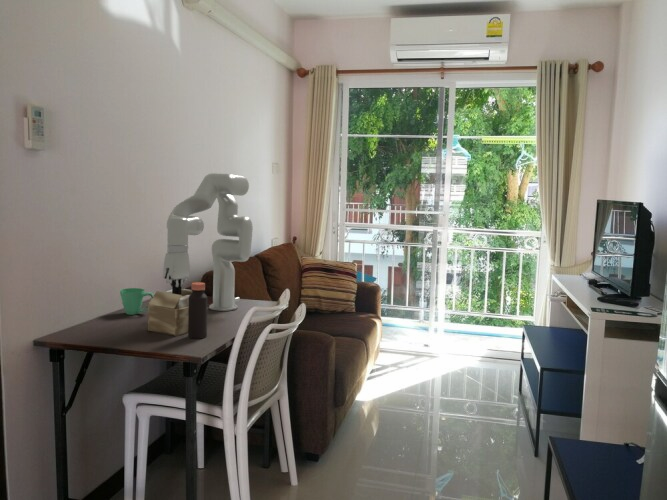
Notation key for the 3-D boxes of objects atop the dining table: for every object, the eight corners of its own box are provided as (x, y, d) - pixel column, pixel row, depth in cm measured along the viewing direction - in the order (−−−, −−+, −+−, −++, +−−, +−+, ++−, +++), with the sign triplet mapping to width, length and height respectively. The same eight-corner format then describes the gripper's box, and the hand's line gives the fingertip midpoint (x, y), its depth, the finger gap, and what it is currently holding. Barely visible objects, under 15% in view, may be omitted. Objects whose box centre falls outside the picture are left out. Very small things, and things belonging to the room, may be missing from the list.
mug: (115, 315, 232) (115, 291, 231) (126, 310, 242) (126, 287, 241) (149, 317, 231) (150, 293, 230) (159, 312, 241) (159, 289, 240)
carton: (176, 321, 226) (176, 289, 224) (205, 327, 219) (206, 294, 217) (147, 330, 211) (147, 296, 210) (177, 336, 205) (177, 301, 203)
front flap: (157, 291, 213) (156, 291, 212) (182, 295, 207) (181, 295, 207) (149, 304, 209) (148, 303, 209) (174, 308, 204) (173, 308, 203)
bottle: (197, 333, 210) (198, 281, 208) (210, 336, 207) (211, 283, 205) (184, 336, 205) (184, 283, 202) (197, 340, 201) (198, 285, 199)
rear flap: (179, 297, 224) (180, 296, 224) (203, 301, 218) (204, 300, 219) (172, 288, 220) (172, 287, 220) (196, 292, 214) (197, 291, 214)
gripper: (183, 247, 220) (182, 292, 222) (155, 250, 206) (155, 298, 208) (198, 248, 216) (197, 295, 218) (171, 251, 203) (170, 301, 205)
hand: (176, 296), depth 213 cm, fingers closed
